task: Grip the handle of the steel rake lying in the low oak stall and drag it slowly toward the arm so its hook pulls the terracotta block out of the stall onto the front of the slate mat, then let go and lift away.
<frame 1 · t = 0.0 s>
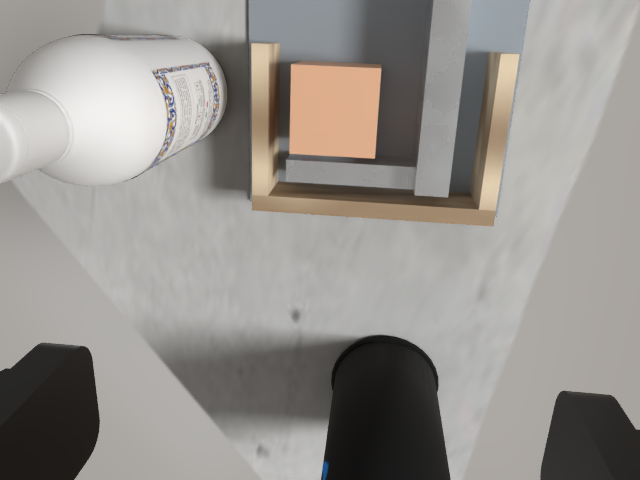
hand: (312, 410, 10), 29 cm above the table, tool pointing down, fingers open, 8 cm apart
mat: (381, 55, 35), on the table
bath foam: (180, 90, 37), on the table
aerosol can: (384, 379, 44), on the table
block: (339, 102, 36), resting on mat
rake: (438, 53, 35), resting on mat
stall: (377, 119, 37), resting on mat
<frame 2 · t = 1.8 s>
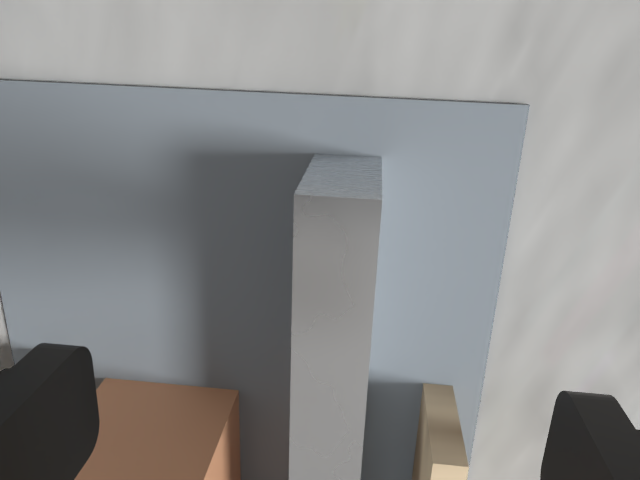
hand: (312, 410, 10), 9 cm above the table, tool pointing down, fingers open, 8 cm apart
mat: (239, 375, 20), on the table
block: (175, 439, 21), resting on mat
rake: (336, 380, 20), resting on mat
stall: (241, 462, 22), resting on mat
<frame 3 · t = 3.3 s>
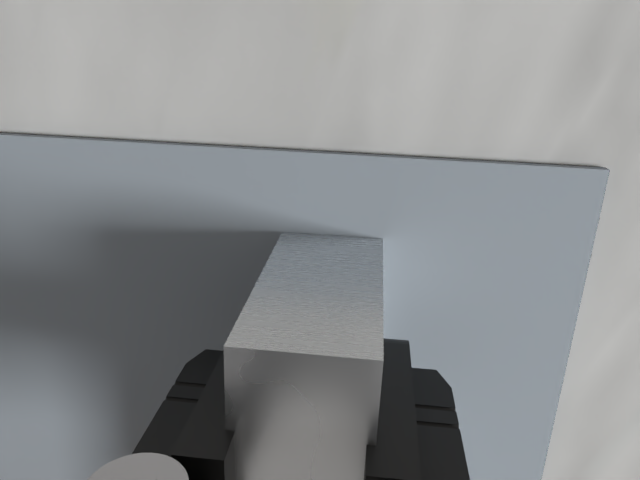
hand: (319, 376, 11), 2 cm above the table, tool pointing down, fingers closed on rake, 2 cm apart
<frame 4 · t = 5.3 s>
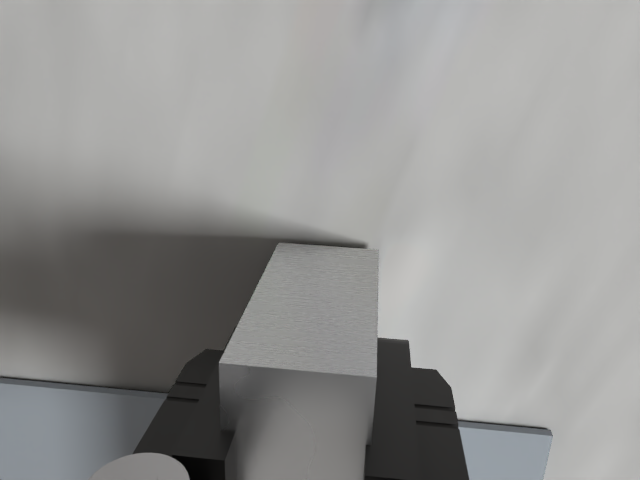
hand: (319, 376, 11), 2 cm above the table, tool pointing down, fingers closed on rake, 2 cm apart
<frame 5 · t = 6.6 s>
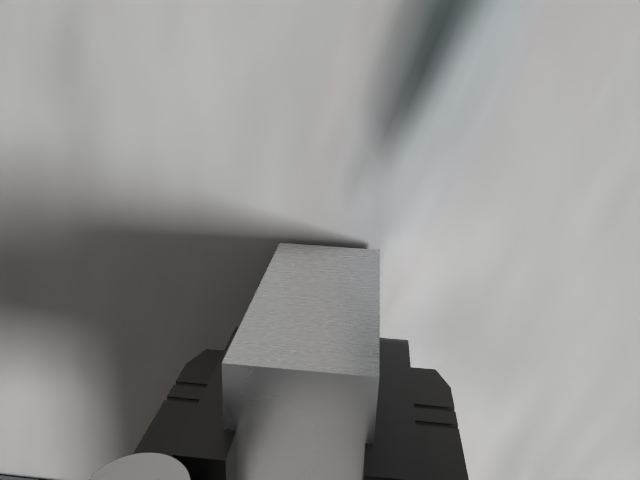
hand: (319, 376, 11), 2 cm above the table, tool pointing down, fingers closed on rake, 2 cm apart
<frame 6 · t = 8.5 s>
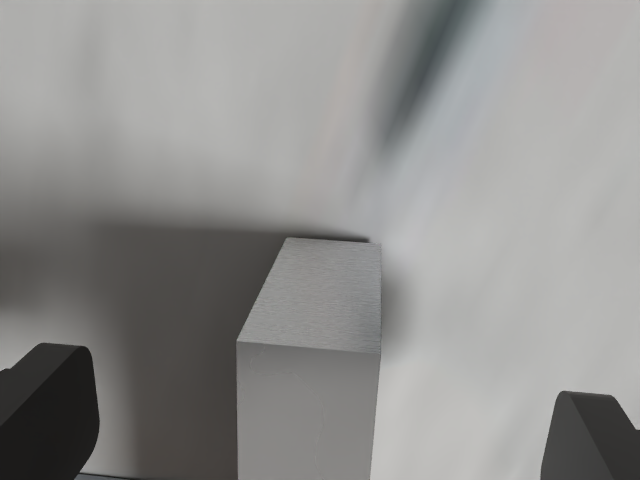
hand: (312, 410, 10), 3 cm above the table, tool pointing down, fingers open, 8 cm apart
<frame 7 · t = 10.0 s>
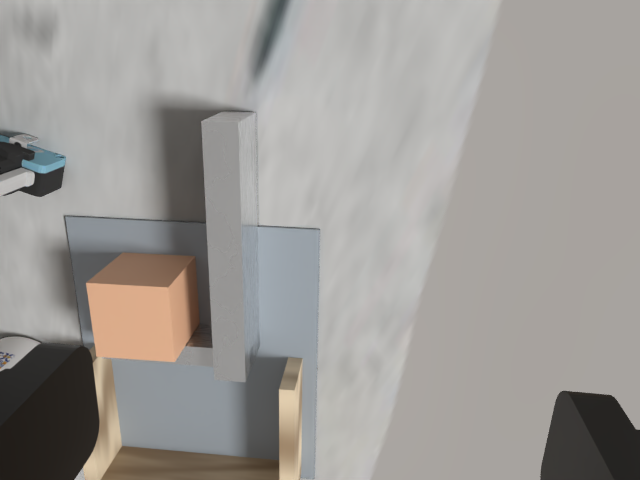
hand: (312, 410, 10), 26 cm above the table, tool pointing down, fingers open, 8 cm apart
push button: (23, 154, 36), on the table
mat: (198, 355, 40), on the table
bath foam: (30, 372, 42), on the table
block: (161, 288, 38), resting on mat
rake: (242, 237, 36), on the table, touching mat
stall: (201, 402, 41), resting on mat
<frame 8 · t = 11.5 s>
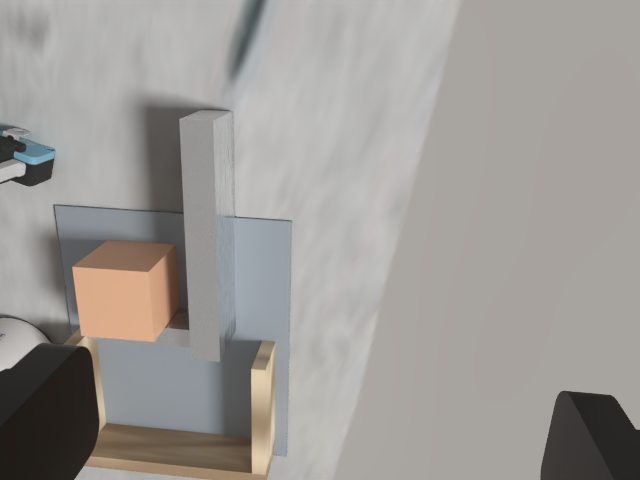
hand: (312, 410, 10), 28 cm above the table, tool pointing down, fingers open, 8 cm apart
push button: (16, 146, 39), on the table
mat: (178, 337, 42), on the table
bath foam: (20, 352, 45), on the table
block: (144, 274, 41), resting on mat
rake: (220, 227, 39), on the table, touching mat
stall: (181, 382, 44), resting on mat
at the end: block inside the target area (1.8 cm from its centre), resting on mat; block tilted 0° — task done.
